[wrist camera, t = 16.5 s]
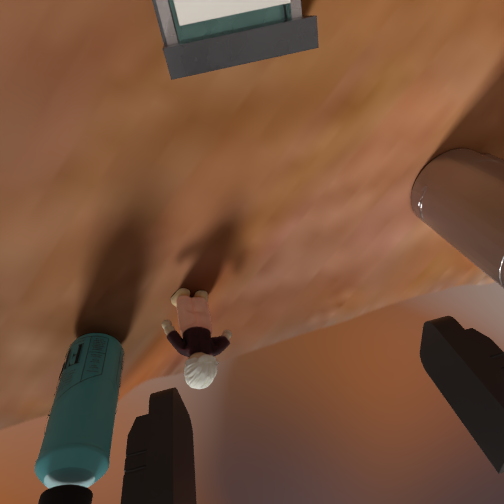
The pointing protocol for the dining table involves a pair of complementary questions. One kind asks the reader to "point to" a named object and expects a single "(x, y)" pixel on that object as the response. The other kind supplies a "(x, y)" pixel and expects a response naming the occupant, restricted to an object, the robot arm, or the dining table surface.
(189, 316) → the grandmother figurine
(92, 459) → the beverage bottle
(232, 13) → the carriage
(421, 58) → the dining table surface
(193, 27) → the gray tray
